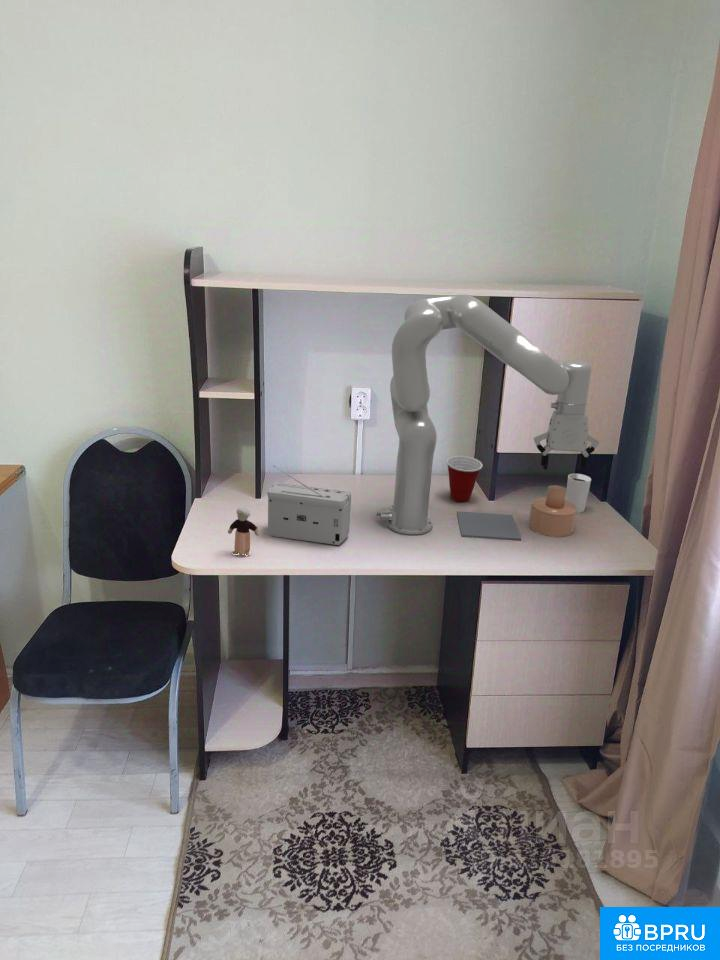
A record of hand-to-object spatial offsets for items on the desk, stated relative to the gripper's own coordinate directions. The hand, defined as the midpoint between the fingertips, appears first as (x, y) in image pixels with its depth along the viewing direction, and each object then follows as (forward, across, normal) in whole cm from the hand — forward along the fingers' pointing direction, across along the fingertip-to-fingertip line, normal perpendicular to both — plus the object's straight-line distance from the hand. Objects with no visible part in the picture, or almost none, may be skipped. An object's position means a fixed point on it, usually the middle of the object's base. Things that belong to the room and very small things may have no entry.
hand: (562, 468), depth 199 cm
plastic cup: (+17, -25, +17) cm, 35 cm away
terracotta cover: (+18, -1, 0) cm, 18 cm away
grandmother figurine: (+16, -82, -28) cm, 89 cm away
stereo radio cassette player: (+16, -68, -16) cm, 72 cm away
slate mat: (+17, -19, -2) cm, 26 cm away
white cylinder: (+18, +9, +15) cm, 25 cm away
